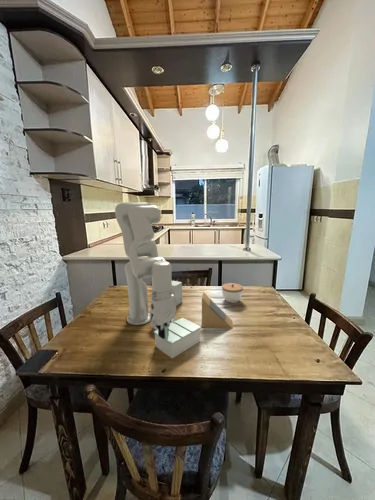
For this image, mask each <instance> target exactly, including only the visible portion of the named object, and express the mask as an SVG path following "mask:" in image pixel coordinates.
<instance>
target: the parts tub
mask: <svg viewBox="0 0 375 500" xmlns="http://www.w3.org/2000/svg"><path fill="white" fill-rule="evenodd" d="M200 341H201V329H199V330H198V331H196V332H194V333H192V334H191V335H189V336H187V337H185V338H184V339H182V340H180V341H178V342H177V343H175V344H173V345H171V344H169V343H168V342H166V341H165V340H163V339H162V338H160V337H159V336H157V335H156V334H154V345H155V347H156V348H158V350H160V351H161V352H163V353H164V354H166V355H167V356H168V357H170V358H171V359H174V358H175V357H177V356H178V355H180V354H182V353H184V352H185V351H187V350H188V349H190V348H192V347H193V346H195V345H197V344H198V343H199V342H200Z"/></svg>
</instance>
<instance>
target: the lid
mask: <svg viewBox="0 0 375 500" xmlns="http://www.w3.org/2000/svg"><path fill="white" fill-rule="evenodd" d="M163 329H164V331H165V338H164V339H163V340H165V341H166V342H168V343H169V344H171V345H173V344H175V343H177V342H178V341H180V340H182V339H184V338H185V337H187V336H189V335H191V334H192V333H194V332H196V331H198V330H199V329H200V330H201V329H202V326H200V325H199V324H196V323H194V322H192V321H191V320H189V319H186V318H184V317H181V318H179V319H177V320H174V321H173V322H172V323H170V326H169V327H168V326H166V325H164V324H163ZM168 331H169V332H168ZM153 334H154V335H155V334H156V335H157V336H159V335H158V330H153ZM168 334H169V336H168ZM160 338H161V337H160Z"/></svg>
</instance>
